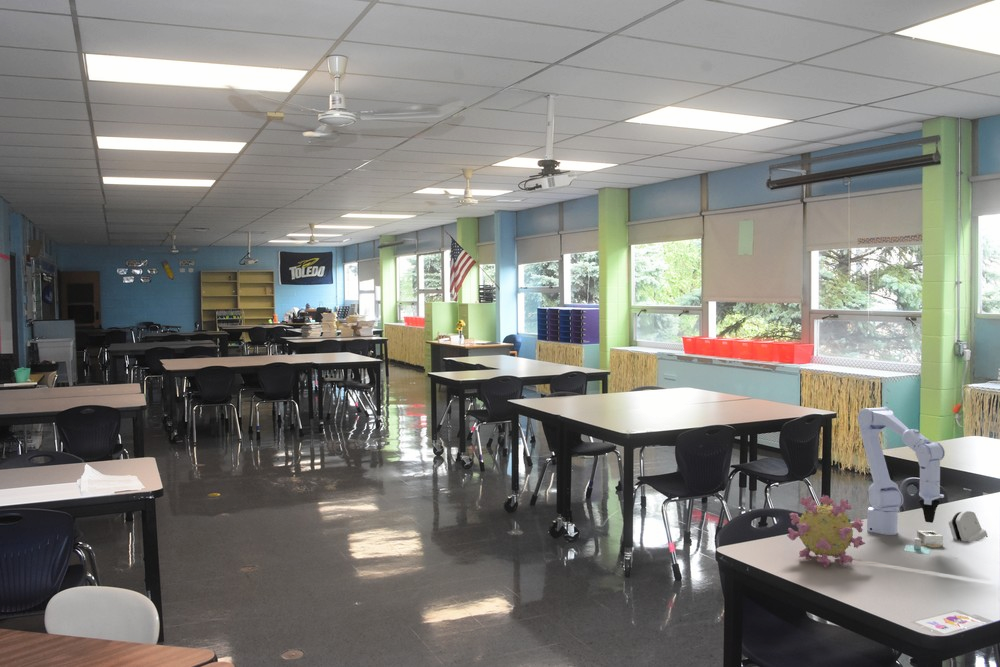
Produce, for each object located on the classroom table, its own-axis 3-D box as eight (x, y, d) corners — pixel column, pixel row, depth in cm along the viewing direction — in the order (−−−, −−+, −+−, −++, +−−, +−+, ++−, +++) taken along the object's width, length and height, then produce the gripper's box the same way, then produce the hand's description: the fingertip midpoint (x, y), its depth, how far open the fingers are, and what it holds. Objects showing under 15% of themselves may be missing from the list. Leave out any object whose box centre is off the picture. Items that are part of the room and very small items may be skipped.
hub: (917, 546, 251) (917, 535, 251) (919, 540, 256) (919, 530, 256) (941, 549, 247) (941, 538, 247) (943, 544, 253) (943, 533, 252)
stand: (903, 552, 245) (903, 540, 245) (906, 546, 251) (906, 534, 250) (928, 556, 241) (928, 543, 241) (930, 550, 247) (930, 537, 247)
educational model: (791, 546, 253) (791, 487, 252) (866, 555, 243) (866, 494, 242) (783, 568, 232) (784, 503, 231) (865, 579, 222) (865, 512, 222)
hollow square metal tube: (925, 544, 249) (925, 535, 249) (917, 539, 255) (917, 530, 254) (943, 545, 249) (943, 535, 249) (934, 539, 254) (934, 530, 254)
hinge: (970, 545, 252) (959, 515, 254) (955, 547, 255) (945, 517, 258) (988, 535, 263) (977, 506, 265) (973, 537, 266) (963, 508, 269)
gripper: (942, 486, 238) (942, 529, 239) (945, 477, 250) (944, 518, 251) (916, 483, 242) (916, 525, 243) (921, 474, 254) (920, 515, 255)
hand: (929, 521), depth 247 cm, fingers closed
